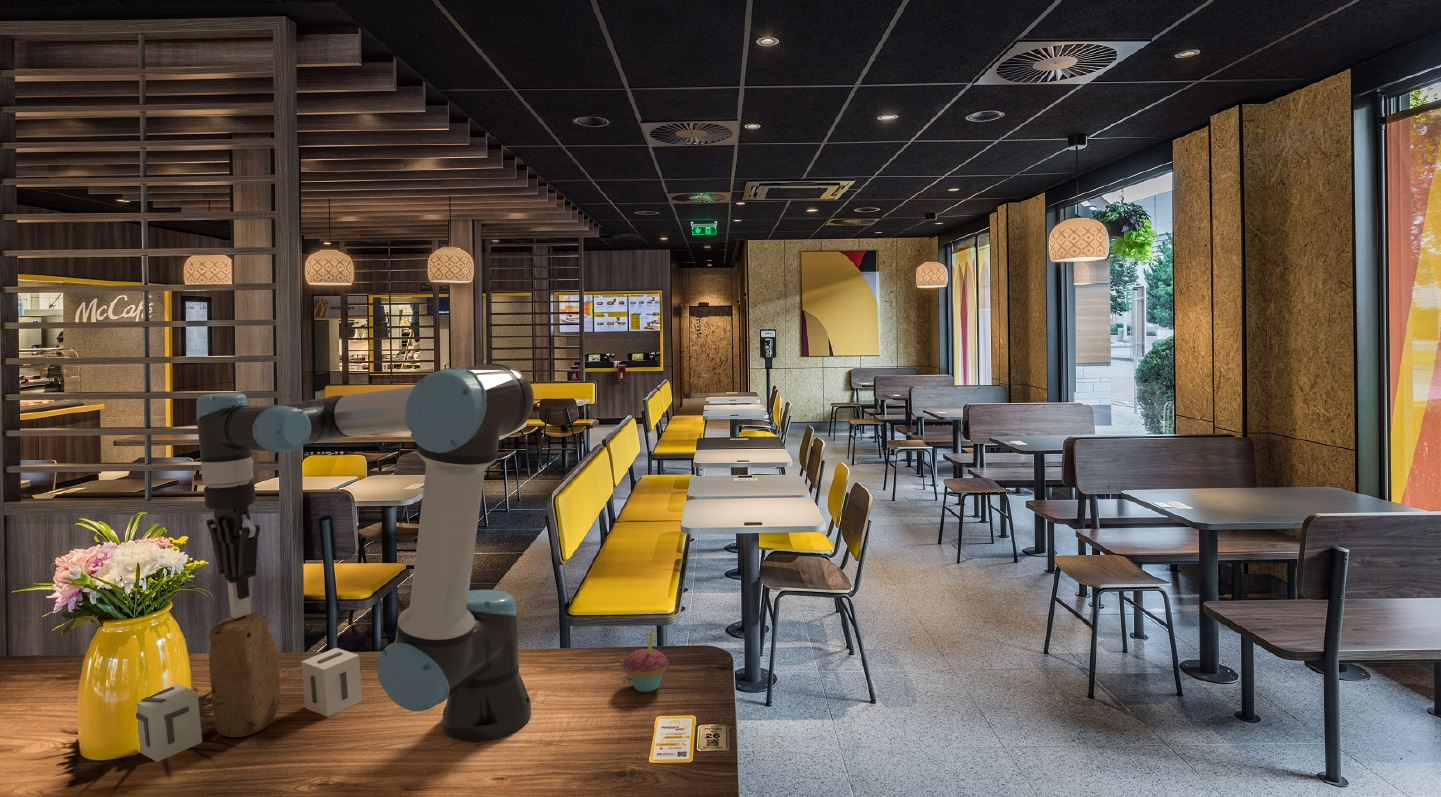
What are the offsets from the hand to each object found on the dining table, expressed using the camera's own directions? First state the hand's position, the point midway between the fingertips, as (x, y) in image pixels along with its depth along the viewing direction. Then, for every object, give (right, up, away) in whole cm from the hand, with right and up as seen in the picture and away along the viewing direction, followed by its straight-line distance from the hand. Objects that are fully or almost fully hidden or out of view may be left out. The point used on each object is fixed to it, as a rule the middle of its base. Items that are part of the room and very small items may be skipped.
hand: (241, 614), depth 143 cm
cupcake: (+70, -17, +13) cm, 73 cm away
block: (0, -20, +2) cm, 21 cm away
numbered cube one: (+12, -19, +9) cm, 24 cm away
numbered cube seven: (-10, -21, -4) cm, 24 cm away
